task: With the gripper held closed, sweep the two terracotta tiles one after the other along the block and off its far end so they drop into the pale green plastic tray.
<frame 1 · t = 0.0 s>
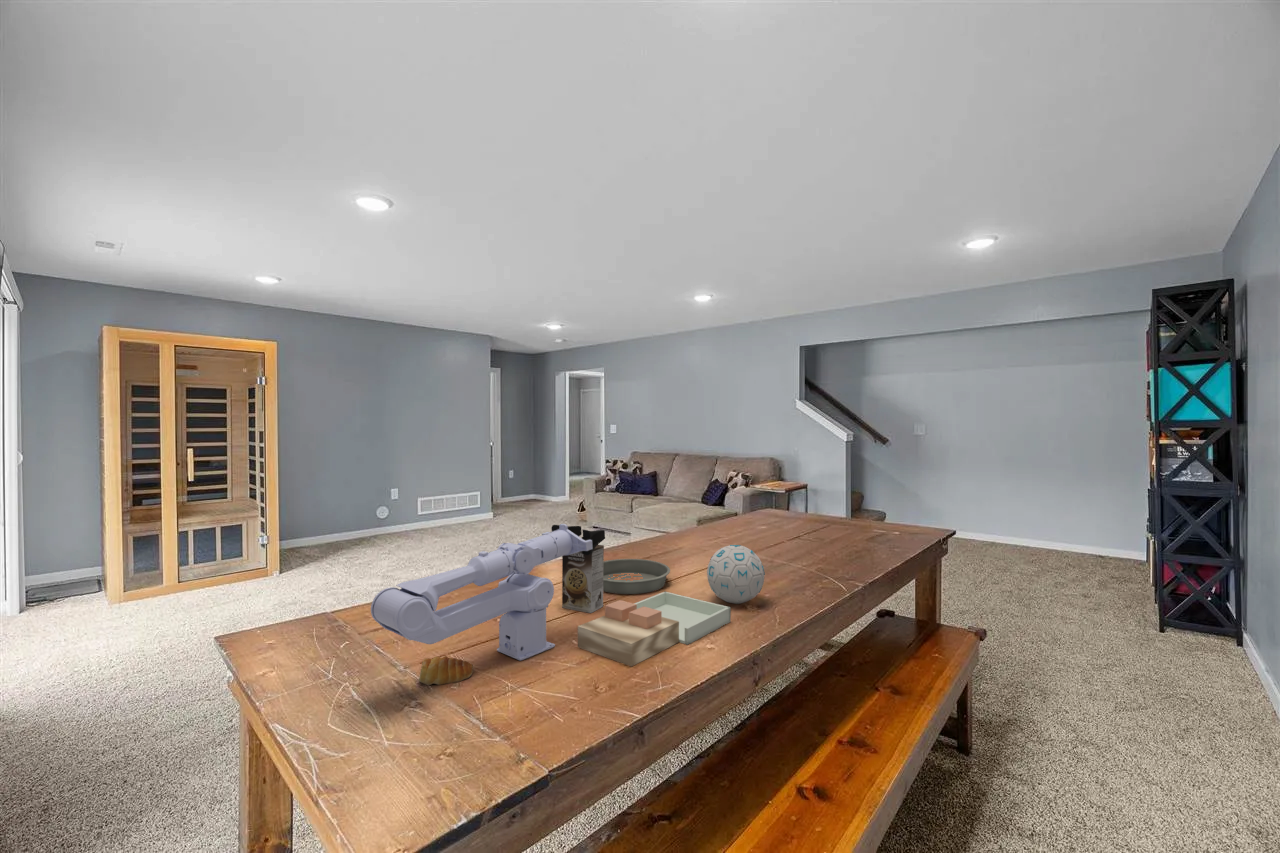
hand: (591, 532, 136), 22 cm above the table, tool horizontal, fingers open, 7 cm apart
tray: (675, 622, 137), on the table
block: (628, 644, 124), on the table
pastry: (443, 679, 108), on the table
puzzle ball: (735, 602, 153), on the table
tile near: (645, 623, 124), point 4 cm above the table, touching block
tile far: (620, 616, 129), point 4 cm above the table, touching block
cake pan: (628, 584, 170), on the table
coffee box: (582, 608, 148), on the table
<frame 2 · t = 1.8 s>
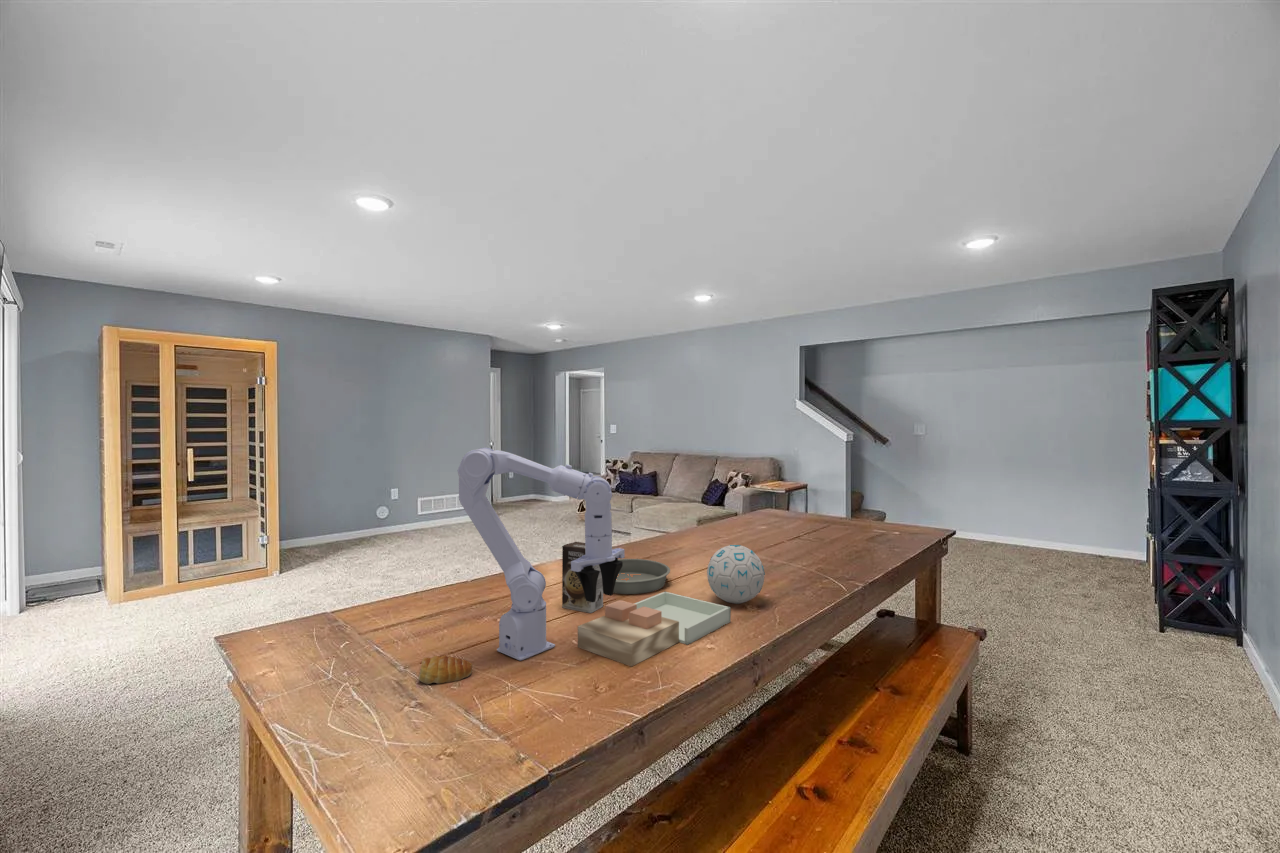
hand: (599, 597, 123), 10 cm above the table, tool pointing down, fingers open, 5 cm apart
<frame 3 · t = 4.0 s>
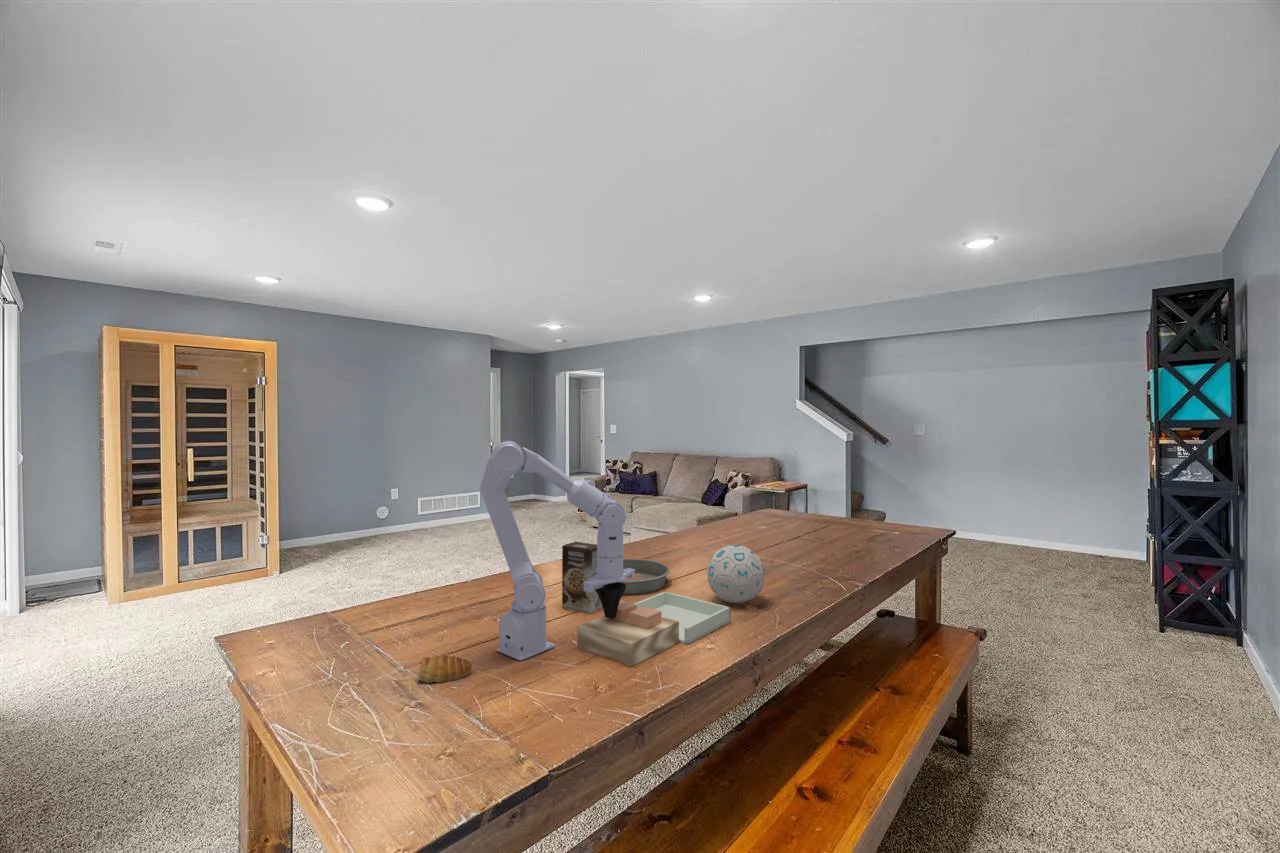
hand: (610, 617, 126), 5 cm above the table, tool pointing down, fingers closed
tile far: (621, 616, 129), point 5 cm above the table, touching gripper
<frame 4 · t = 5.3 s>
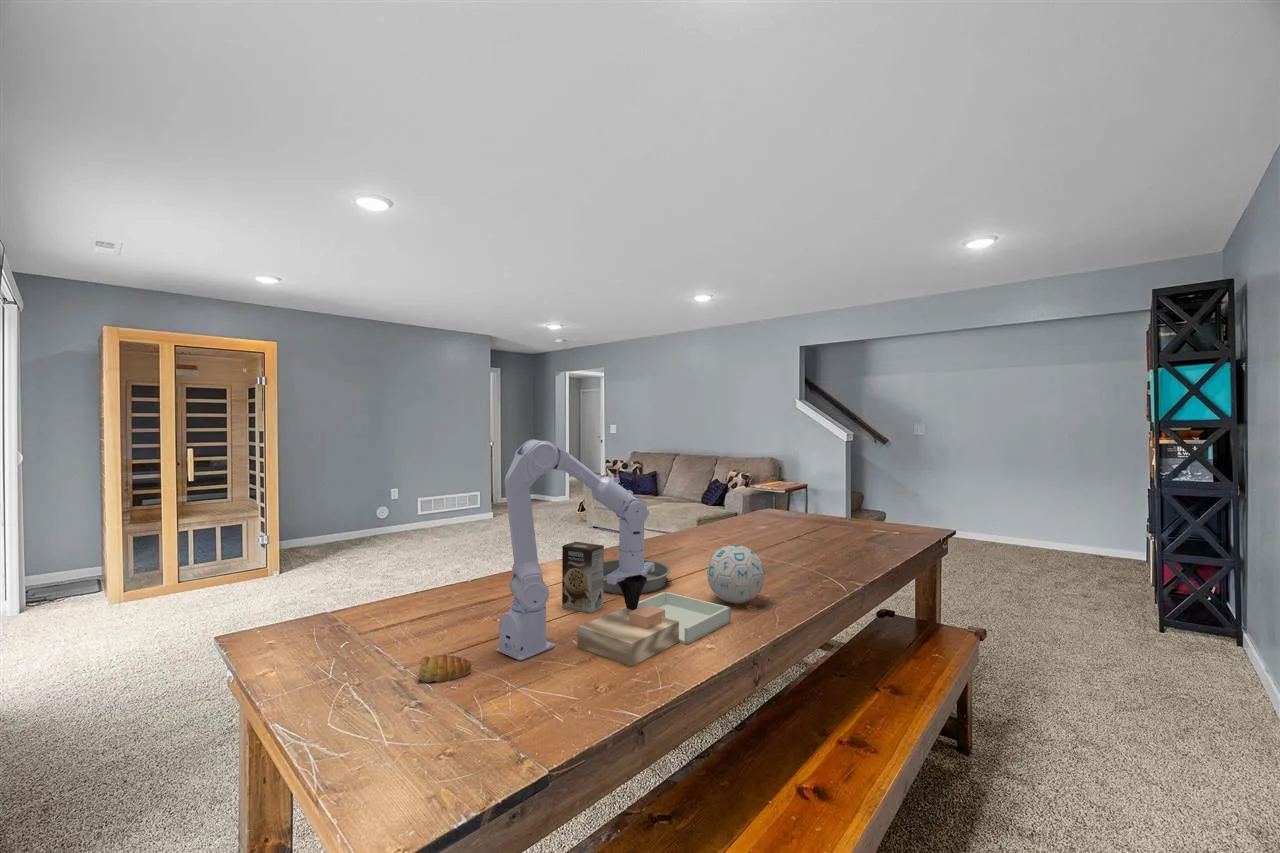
hand: (631, 608, 131), 5 cm above the table, tool pointing down, fingers closed
tile far: (650, 610, 137), point 3 cm above the table, tilted 180°, touching tray
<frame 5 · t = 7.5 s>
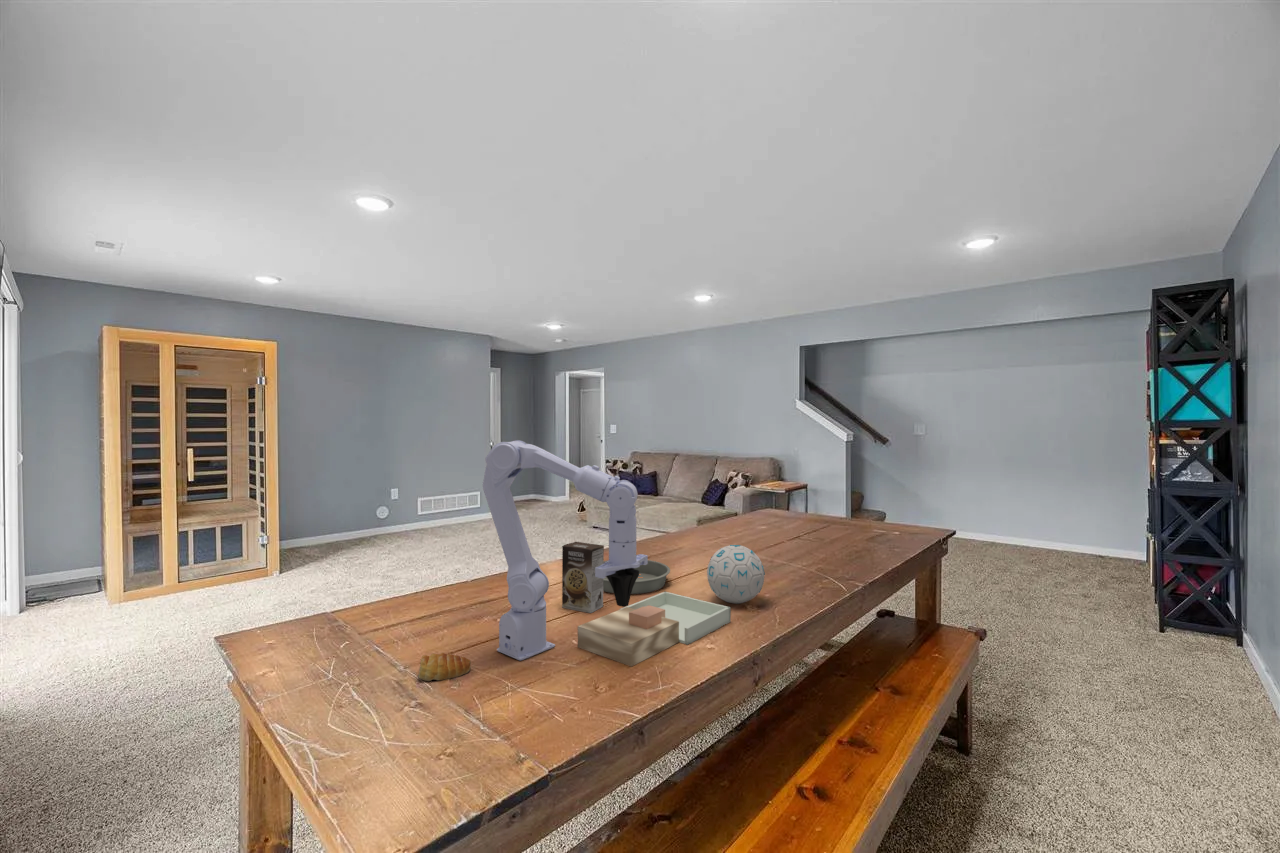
hand: (622, 605, 119), 10 cm above the table, tool pointing down, fingers closed
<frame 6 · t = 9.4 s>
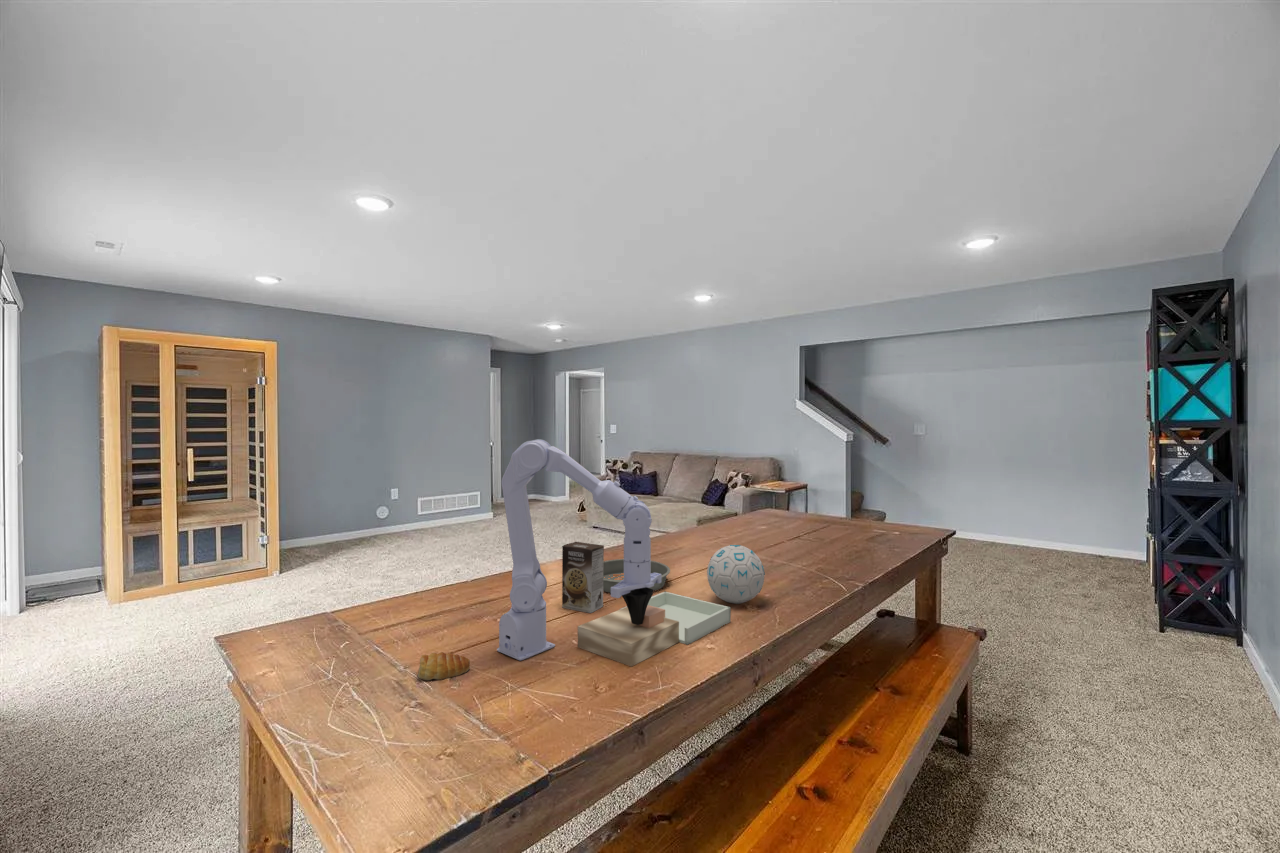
hand: (637, 623, 122), 5 cm above the table, tool pointing down, fingers closed
tile near: (647, 622, 125), point 5 cm above the table, touching block, gripper
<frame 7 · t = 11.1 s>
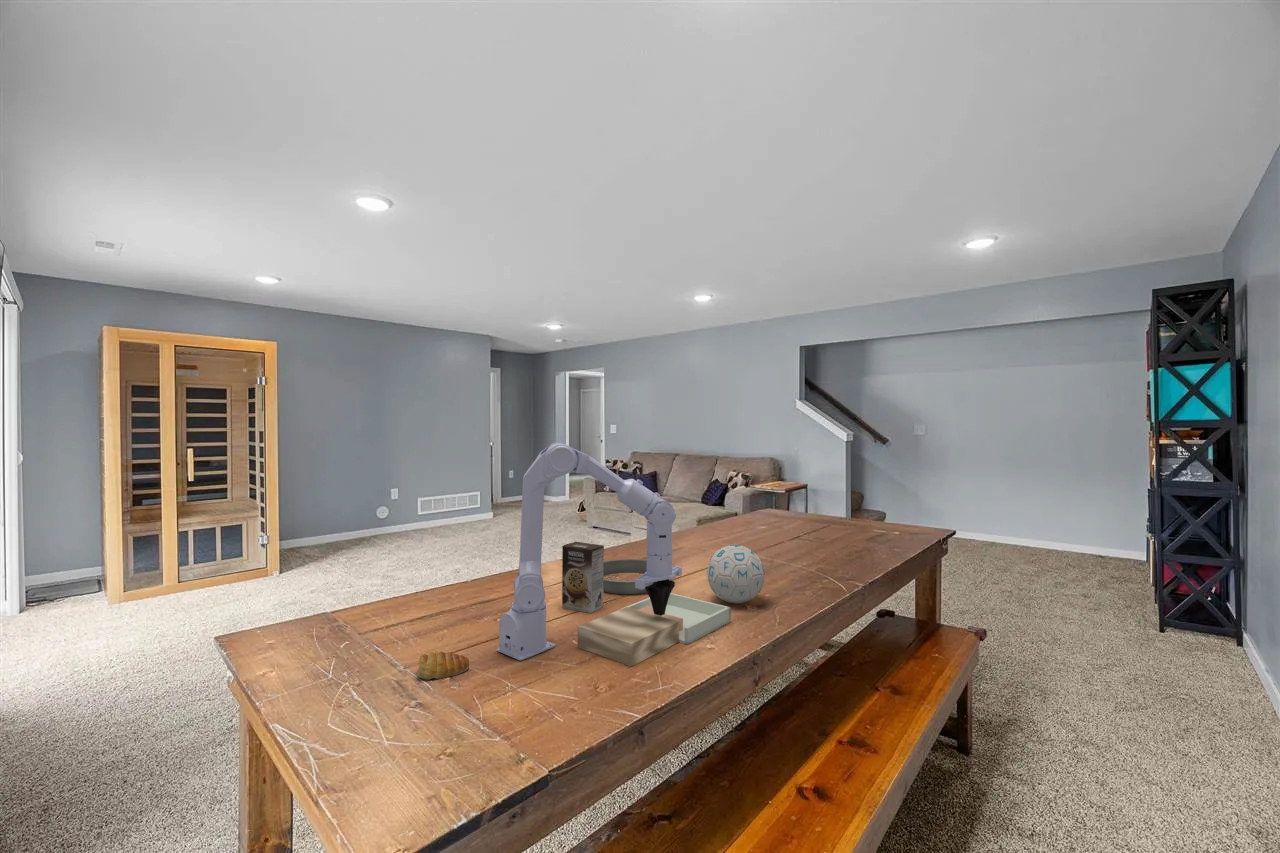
hand: (659, 613, 128), 5 cm above the table, tool pointing down, fingers closed
tile near: (667, 630, 131), point 1 cm above the table, touching tray
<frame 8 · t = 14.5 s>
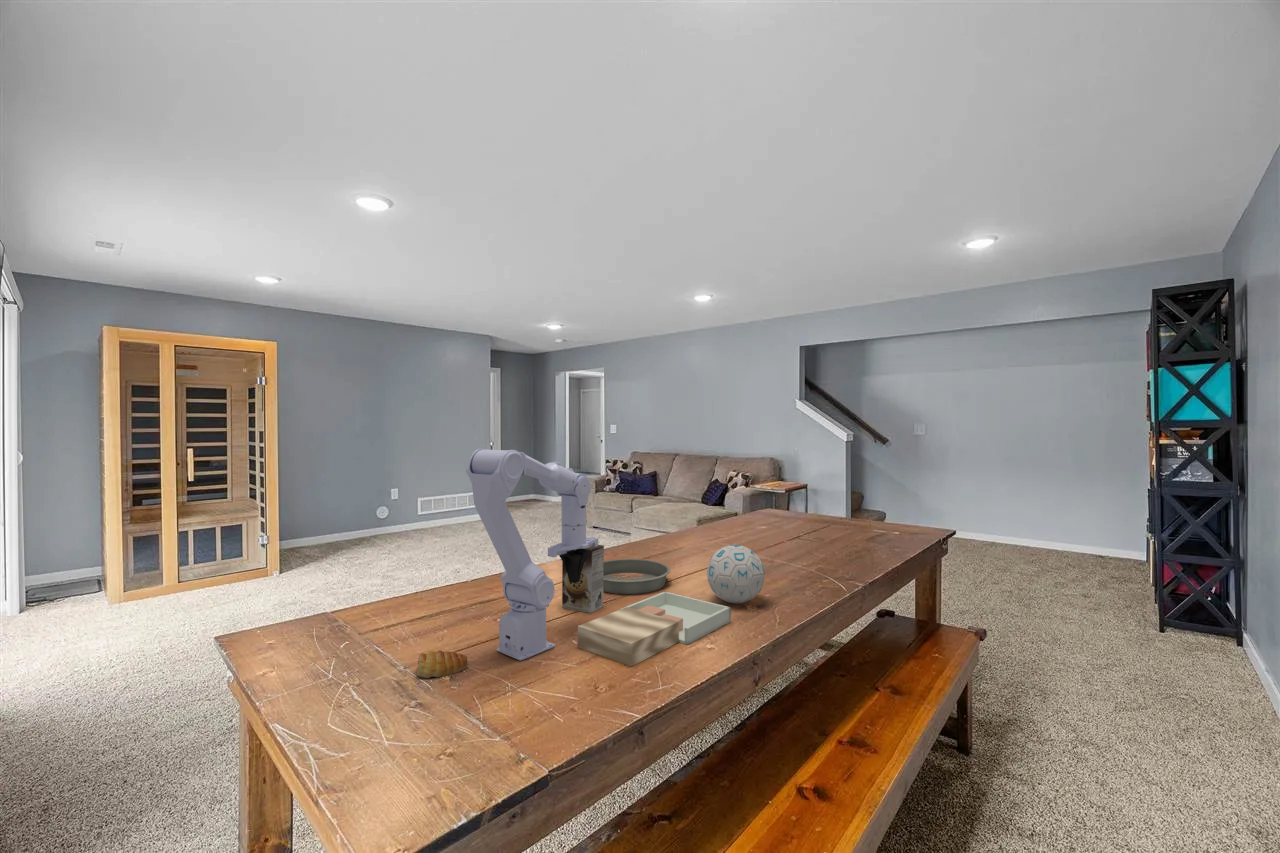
hand: (574, 581, 135), 10 cm above the table, tool pointing down, fingers closed
at the end: tile far inside the target area on the tray (5.7 cm from its centre), point 3.1 cm above the tray's base; tile near inside the target area on the tray (6.5 cm from its centre), point 0.6 cm above the tray's base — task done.
